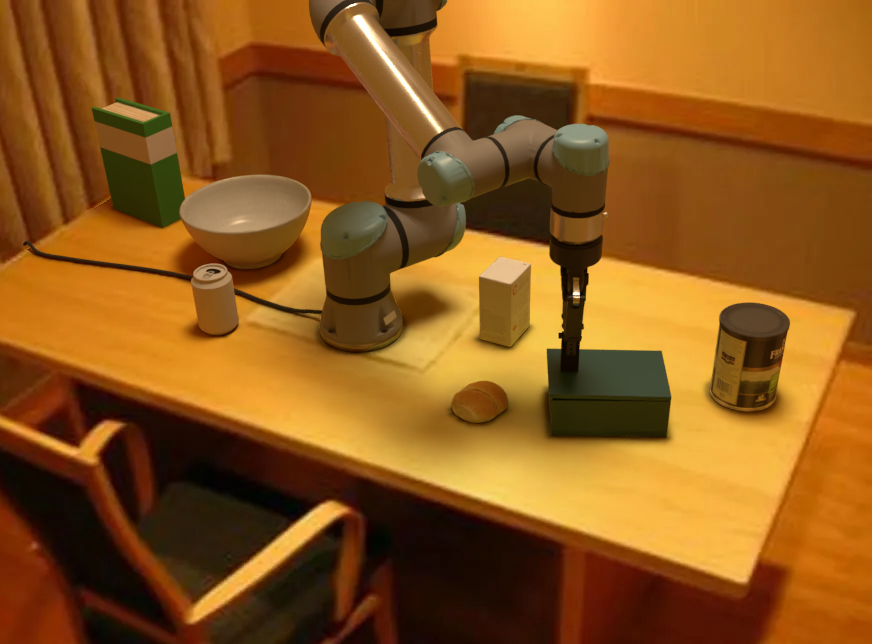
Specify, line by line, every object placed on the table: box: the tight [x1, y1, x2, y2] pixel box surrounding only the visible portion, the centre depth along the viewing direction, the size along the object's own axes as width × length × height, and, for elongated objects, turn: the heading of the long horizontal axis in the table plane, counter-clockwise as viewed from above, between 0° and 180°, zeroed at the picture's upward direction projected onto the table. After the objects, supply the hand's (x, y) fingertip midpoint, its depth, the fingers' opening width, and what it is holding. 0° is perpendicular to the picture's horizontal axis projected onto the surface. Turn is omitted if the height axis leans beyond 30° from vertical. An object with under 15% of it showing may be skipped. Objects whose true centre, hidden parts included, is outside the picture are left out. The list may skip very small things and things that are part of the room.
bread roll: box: [450, 380, 509, 424], centre depth 174 cm, size 8×9×4 cm
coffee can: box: [709, 302, 791, 412], centre depth 170 cm, size 10×10×14 cm
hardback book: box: [91, 96, 186, 229], centre depth 238 cm, size 18×7×24 cm, turn 49°
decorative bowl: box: [179, 174, 313, 270], centre depth 221 cm, size 27×27×12 cm
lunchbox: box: [547, 387, 672, 438], centre depth 170 cm, size 18×13×7 cm
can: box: [190, 262, 240, 336], centre depth 199 cm, size 8×8×12 cm
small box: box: [478, 256, 532, 348], centre depth 190 cm, size 8×6×13 cm
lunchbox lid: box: [546, 348, 672, 402], centre depth 168 cm, size 18×13×1 cm
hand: (569, 368), depth 168 cm, fingers closed
